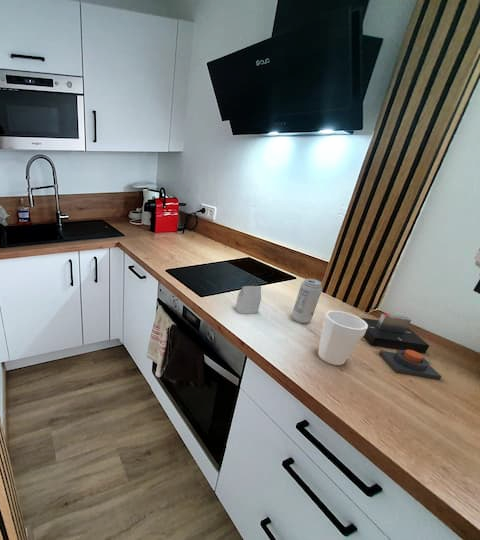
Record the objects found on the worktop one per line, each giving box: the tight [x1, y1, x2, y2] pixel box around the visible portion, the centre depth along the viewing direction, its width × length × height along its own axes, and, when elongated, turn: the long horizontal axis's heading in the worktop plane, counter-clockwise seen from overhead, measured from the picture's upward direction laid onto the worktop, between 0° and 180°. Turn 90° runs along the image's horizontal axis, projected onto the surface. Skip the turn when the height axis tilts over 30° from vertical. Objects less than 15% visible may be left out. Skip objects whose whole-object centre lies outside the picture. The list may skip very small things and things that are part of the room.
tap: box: [376, 313, 412, 333], centre depth 90 cm, size 7×2×5 cm, turn 76°
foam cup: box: [317, 310, 368, 366], centre depth 80 cm, size 10×9×13 cm
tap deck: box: [360, 317, 430, 354], centre depth 92 cm, size 14×12×3 cm
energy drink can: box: [291, 278, 323, 325], centre depth 98 cm, size 6×6×15 cm
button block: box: [378, 349, 442, 381], centre depth 80 cm, size 10×8×3 cm
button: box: [403, 350, 424, 363], centre depth 79 cm, size 4×4×2 cm
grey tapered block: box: [235, 285, 262, 314], centre depth 103 cm, size 4×7×10 cm, turn 95°
